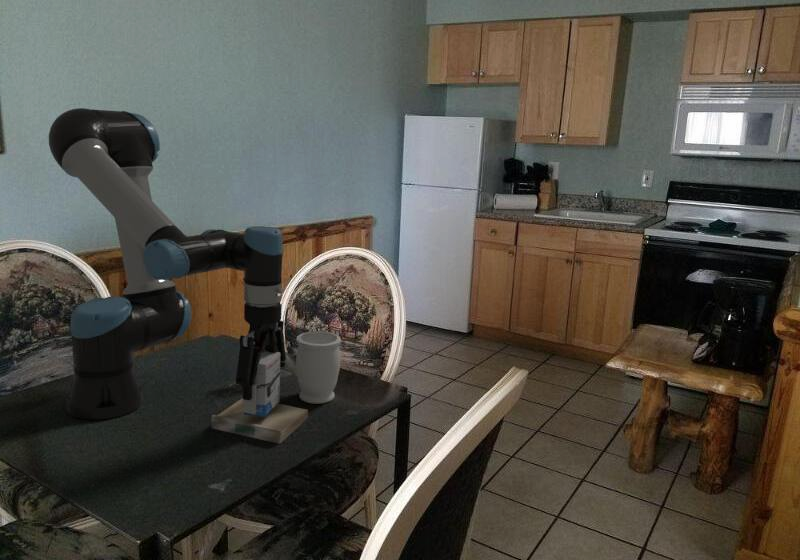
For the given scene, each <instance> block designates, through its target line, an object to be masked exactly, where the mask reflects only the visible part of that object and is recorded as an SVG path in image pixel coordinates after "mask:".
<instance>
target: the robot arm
mask: <svg viewBox="0 0 800 560" xmlns="http://www.w3.org/2000/svg"><path fill="white" fill-rule="evenodd" d="M48 146H49V150H50V153H51V155H52V156H53V158H54V161H55V162H56V163H57V164H58V166H60V168H61V169H62V170H63V171H64V172H65V173H66V175H68V176H71V177H73V178H77V179H78V180H79V181H80V182H81V183H82V184H83V186H85V187H86V188H87V190H89V192H90V193H91V194H92V195H93V196H94V197H95V198H96V199H97V200H98V201H99V202H100V204H101V205H103V206H104V207H105V209H106V210H107V211H108V212H109V213H110V215H111V216H112V217H114V221H115V227H116V231H117V237H118V240H119V246H120V251H121V256H122V261H123V266H124V271H125V275H126V276H125V278H126V281H127V285H126V287H125V288H124V290H123V291H122V297H121V296H107V297H99V298H94V299H90V300H87V301H85V302H82V303H81V304H79V305H77V306H76V307H75V308H74V310H73V311H72V313H71V315H70V316H71V317H70V329H69V331H70V335H71V347H72V348H71V349H72V350H71V351H72V363H73V379H72V382H71V385H70V389H69V394H68V395H67V398H66V411H67V413H68V414H69V415H70V416H71V417H74V418H76V419H80V420H81V419H82V420H89V421H90V420H94V421H97V420H106V419H107V420H108V419H113V418H114V419H115V418H118V417H121V416H125V415H127V414H129V413H132V412H134V411H136V410H137V409H139V408H140V407H141V405H143V402H144V395H143V394H144V393H143V389H142V387H141V386H140V384H139V381H138V377H137V375H136V372H135V369H134V360H133V359H134V354H135V353H137V352H141V351H144V350H147V349H149V348H153V347H155V346H160V345H163V344H164V345H165V344H168V343H170V342H173V341H174V340H176V339H179V338H181V337H182V336H184V334H185V333H187V330H188V329H189V327H190V325H191V321H192V307H191V305H190V302H189V300H188V298H186V296H185V294H184V293H183V292H181V291H178V290H177V288H176V284H175V282H173V281H171V280H175V279H176V280H177V279H181V278H183V277H188V276H191V275H198V274H201V273H208V272H212V271H213V272H214V271H216V270H217V271H218V270H223V269H232V270H237V271H242V272H243V274H244V275H243V277H244V278H243V279H244V281H243V282H244V285H243V287H244V289H243V301H245V303H244V305H243V308H244V309H243V319H244V321H245V322H246V323H247V324H248V325H249V328H248V334H247V335H240V337H239V352H238V353H239V354H238V361H237V367H236V368H237V369H236V375H235V376H236V377H235V384H236V385H241V386H242V398H243V412H245V413H249V414H256V391H257V384H255V383H254V381H255V377H256V373H257V365H258V363H259V361H260V357H261V354H262V353H263V352H264V350H265V351H268V352H273V353H277V352H280V368H285V366H286V363H285V362H286V360H287V356H286V355H287V354H286V348H285V347H286V346H285V345H286V344H285V337H284V325H285V322H284V320H282V303H280V302H281V301H282V294H283V289H282V286H283V285H282V282H283V281H282V280H283V278H282V272H283V257H284V256H283V255H284V245H283V244H284V243H283V233H282V231H281V229H279V228H276V227H273V226H265V225H263V226H260V225H255V226H254V225H253V226H249V227H246V229H244V234H243V233H238V232H232V231H227V230H225V229H220V228H219V229H211V228H210V229H206V230H204V231H203V232H202V233H200V234H198V235H197V234H195V235H190V236H189V235H188V236H187V235H185V233H184V232H182V230H181V229H180V228H179V227H177V226H176V224H175V223H174V222H173V221H172V220H171V219H170V218H169V217H168V216H167V215H166V214H165V213H164V211H163V210H162V209H161V208H160V207H158V205H157V204H155V202H153V198H152V193H151V188H150V182H149V175H150V174H151V172H152V171H154V167H153V163H154V162H155V161H156V160H157V158H158V156H159V153H158V152H159V151H160V149H161V148H160V147H161V144H160V137H159V134H158V132H157V129H156V127H155V126H154V124H153V123H152V122H151V120H149V119H147V118H146V117H145V116H143V115H141V114H139V113H135V112H129V111H125V110H122V111H121V110H120V111H119V110H118V111H117V110H105V109H104V110H102V109H90V108H82V107H79V108H73V109H69V110H66V111H64V112H63V113H61V114H60V115H59V116H57V117H56V119H55V120H54V121H53V122H52V125H51V126H50V129H49V133H48ZM254 346H255V347H260V348H254ZM280 391H281V389H280V390H279V394H280Z"/></svg>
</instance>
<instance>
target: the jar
mask: <svg viewBox="0 0 800 560" xmlns="http://www.w3.org/2000/svg"><path fill="white" fill-rule="evenodd" d="M341 342H342V338H341V336H340V335H338V334H337V333H334V332H329V331H307V332H303V333H300V334H299V335H298V336H297V337H296V343H297V344H298V347H297V350H296V356H295V367H296V368H295V369H296V374H297V382H298V387H299V388H300V390H301V391H300V393H299V399H300V400H301V401H303V402H305V403H309V404H312V405H313V404H314V405H315V404H316V405H317V404H319V405H320V404H326V403H328V402H331V401H333V400H334V399H335V392H334V390H335V387H336V386H337V383H338V378H339V377H338V376H339V374H340V369H341V351H340V350H341V349H340V345H341Z"/></svg>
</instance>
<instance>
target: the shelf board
mask: <svg viewBox="0 0 800 560" xmlns="http://www.w3.org/2000/svg"><path fill="white" fill-rule="evenodd" d="M308 419H309V410H308V409H306V408H301V407H295V406H291V405H287V404H281V403H279V402H278V403H277V405H276V406H275V407H274V408H273V409H272V410H271V411H270V412H269V413H268V414H267V415H266V417H259V416H252V415H245V414H244V412H243V397H242V398H241V399H240V400H237V401H236V402H234V403H233V404H232V405H230V406H229V407H227V408H226V409H225V410H223V411H222V412H220V413H219V414H217V415H216V414H212V415H211V429H213V430H219V431H222V432H227V433H231V434H236V435H239V436H244V437H247V438H248V437H249V438H251V439H257V440H262V441H267V442H271V443H275V444H279V445H280V444H281V443H282V442H284V441H285V439H287V437H289V436H290V435H291V434H292V433H293V432H294V431H296V430H297V429H298V428H299V427H300V426H301V425H302V424H303V423H304V422H305V421H307V420H308Z"/></svg>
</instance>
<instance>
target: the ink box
mask: <svg viewBox="0 0 800 560" xmlns="http://www.w3.org/2000/svg"><path fill="white" fill-rule="evenodd" d="M280 355H281V354H280V352H277V353H273V352H268V351H265V350H264V352H263V353H262V354H261V357H260V361H259V363H258V365H257V373H256V377H255V381H254V383H255V384H257V391H256V414H249V413H245V412H244V414H245V415H252V416H259V417H266V415H267V414H268V413H269V412H270V411H271V410H272V409H273V408H274V407H275V406H276V405H277V403H278V404H279V403H280V393H279V390H280V391H281V389H280V386H281V385H280V383H281V378H280V377H281V367H280Z"/></svg>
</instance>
